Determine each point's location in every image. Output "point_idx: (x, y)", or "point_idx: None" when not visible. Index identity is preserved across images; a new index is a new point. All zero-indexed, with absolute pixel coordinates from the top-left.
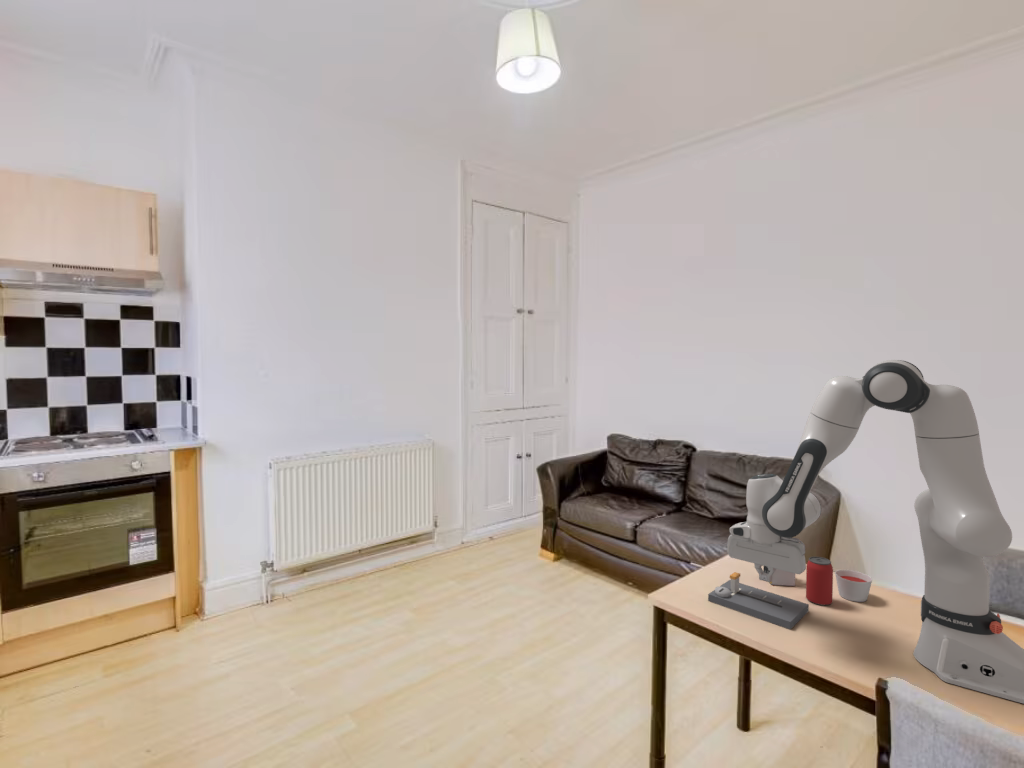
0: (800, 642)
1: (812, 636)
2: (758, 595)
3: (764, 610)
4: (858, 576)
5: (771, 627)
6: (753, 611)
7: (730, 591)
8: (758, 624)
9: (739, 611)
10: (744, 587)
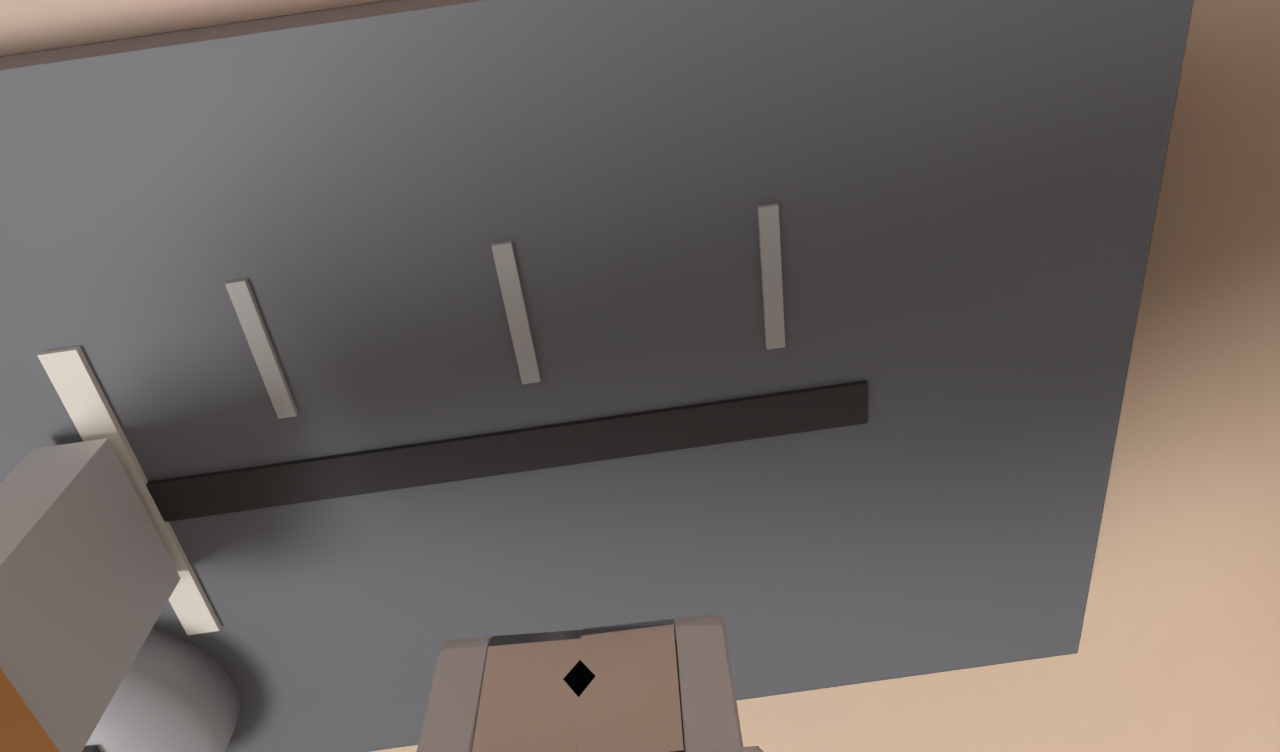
0: (1164, 697)
1: (1253, 535)
2: (410, 326)
3: (742, 648)
4: None
5: None
6: None
7: None
8: (752, 716)
9: None
10: (27, 230)
